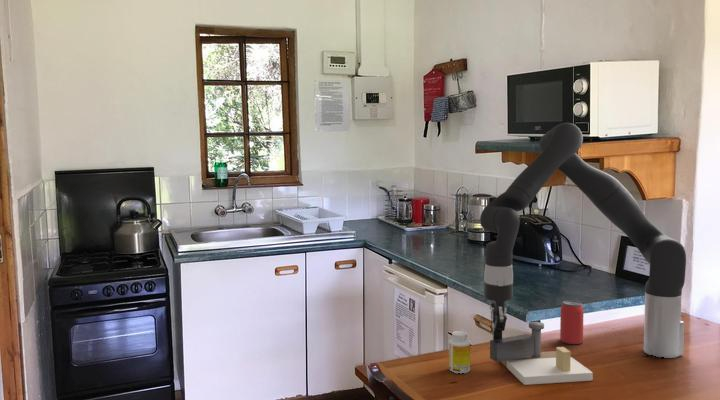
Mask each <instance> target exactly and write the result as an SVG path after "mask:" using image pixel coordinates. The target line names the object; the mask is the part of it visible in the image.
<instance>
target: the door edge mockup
mask: <svg viewBox="0 0 720 400" xmlns="http://www.w3.org/2000/svg"><path fill="white" fill-rule="evenodd" d="M528 328H529V329H531V336H533V337H534V355H533V356H527V357H522V358H516V359H511V360H505V361H500V363H502V364H503V366H504V367H505V368H507V370H508V371H509V372H511V374H513V376H514V377H516V379H518V380H519V382H521V383H522V384H523V386H526V385H539V384H540V385H543V384H556V383H557V384H560V383H573V382H574V383H575V382H588V381H589V382H590V381H593V378H594V377H593V376H594V374H593V373H594V372H592V371H591V370H590V369H589V368H587V367H586V366H584V365H583V364H582V363H581V362H579V361H578V360H576V359H575V358H574V357H572V356H571V355H572V353H571V351H570V350H569V349H567V348H566V347H564V346H556V347H555V349H556V350H551V351H542V349H541V347H542V346H541V345H542V342H541V341H542V330H544V329H545V324H544V323H543V322H541V321H530V322H529V323H528Z"/></svg>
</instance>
